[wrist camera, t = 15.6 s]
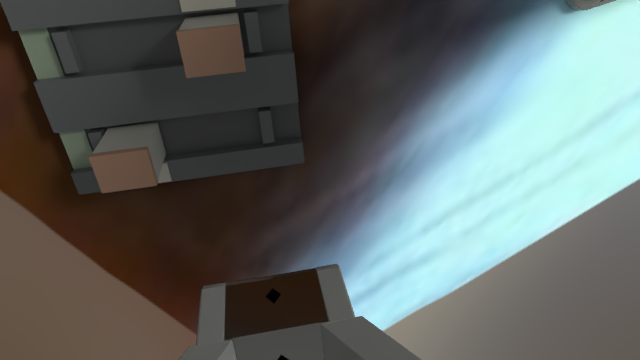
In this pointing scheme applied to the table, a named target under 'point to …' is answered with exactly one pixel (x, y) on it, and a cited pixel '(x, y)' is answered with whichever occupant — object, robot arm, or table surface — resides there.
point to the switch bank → (163, 83)
